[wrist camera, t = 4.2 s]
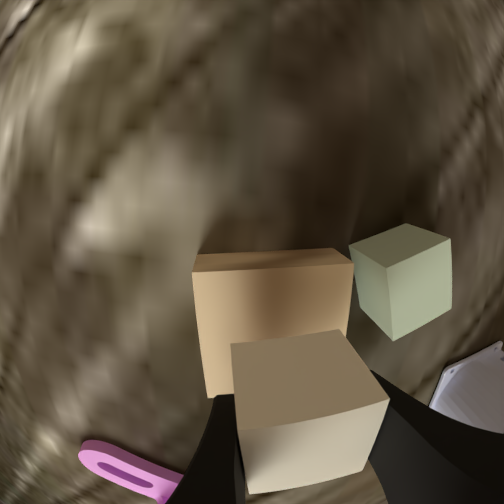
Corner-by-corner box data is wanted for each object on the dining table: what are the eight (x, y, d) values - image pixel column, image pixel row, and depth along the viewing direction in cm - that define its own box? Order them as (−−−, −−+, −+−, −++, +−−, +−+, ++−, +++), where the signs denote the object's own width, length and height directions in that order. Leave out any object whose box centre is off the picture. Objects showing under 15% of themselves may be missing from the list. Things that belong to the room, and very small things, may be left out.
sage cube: (405, 222, 15) (450, 238, 11) (412, 282, 16) (451, 308, 12) (347, 245, 15) (385, 268, 11) (359, 306, 16) (393, 341, 12)
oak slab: (330, 246, 15) (354, 263, 12) (321, 354, 17) (337, 383, 14) (197, 252, 14) (191, 272, 11) (208, 364, 16) (207, 397, 13)
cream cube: (339, 328, 10) (389, 398, 6) (330, 402, 11) (362, 470, 7) (230, 343, 10) (237, 430, 6) (240, 417, 11) (249, 494, 7)
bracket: (218, 484, 20) (221, 542, 14) (189, 499, 21) (189, 549, 14) (91, 430, 17) (69, 493, 10) (76, 451, 18) (58, 504, 11)
